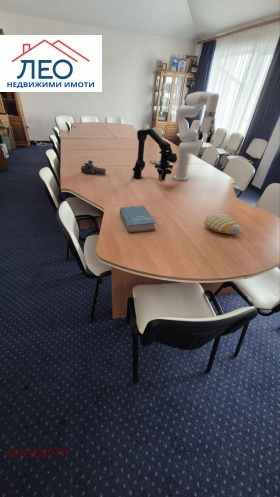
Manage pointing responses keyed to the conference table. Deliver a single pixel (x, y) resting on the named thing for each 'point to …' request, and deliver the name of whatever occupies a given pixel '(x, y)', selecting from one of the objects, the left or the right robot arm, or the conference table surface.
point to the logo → (155, 162)
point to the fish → (223, 224)
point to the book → (137, 219)
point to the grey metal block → (161, 178)
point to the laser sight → (92, 169)
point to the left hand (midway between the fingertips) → (161, 179)
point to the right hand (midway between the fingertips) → (203, 141)
